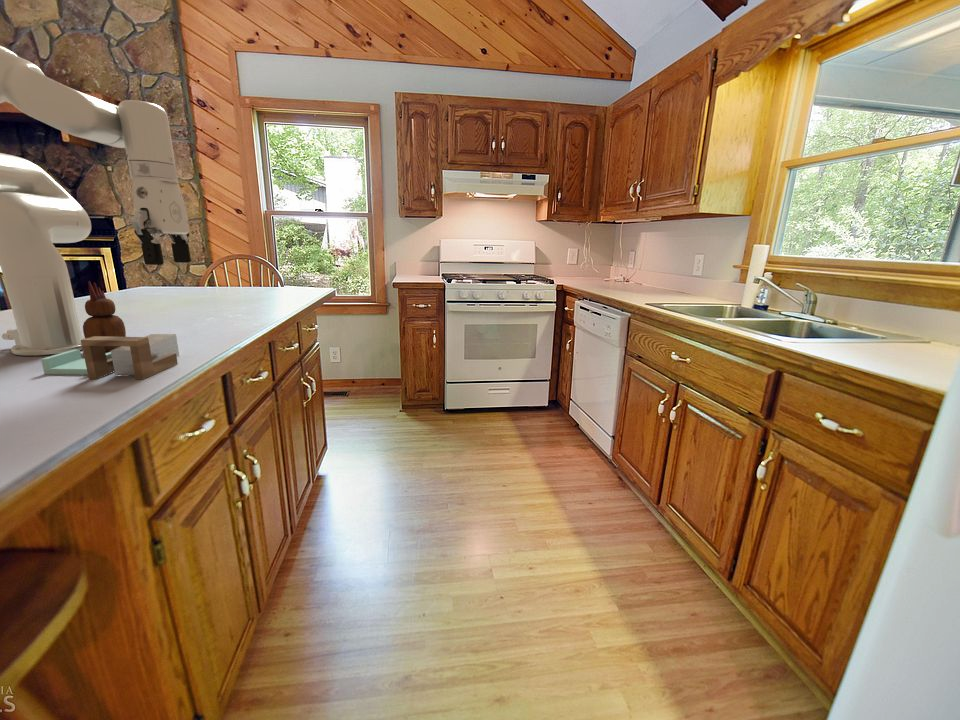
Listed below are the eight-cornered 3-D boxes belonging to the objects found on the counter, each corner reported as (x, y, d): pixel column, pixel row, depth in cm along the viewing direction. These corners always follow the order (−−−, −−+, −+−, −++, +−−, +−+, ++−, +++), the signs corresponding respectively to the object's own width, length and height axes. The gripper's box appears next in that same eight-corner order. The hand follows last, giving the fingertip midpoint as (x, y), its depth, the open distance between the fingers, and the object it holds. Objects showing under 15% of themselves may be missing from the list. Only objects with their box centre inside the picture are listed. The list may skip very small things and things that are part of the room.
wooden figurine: (103, 354, 89) (89, 282, 85) (81, 352, 90) (65, 281, 86) (135, 347, 96) (122, 280, 92) (113, 345, 97) (100, 278, 93)
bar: (115, 377, 77) (110, 350, 75) (154, 357, 90) (150, 334, 88) (145, 376, 78) (140, 350, 76) (179, 356, 91) (175, 333, 89)
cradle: (44, 373, 76) (40, 358, 75) (77, 363, 83) (74, 349, 82) (96, 374, 77) (92, 359, 76) (124, 363, 84) (121, 350, 83)
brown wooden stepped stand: (88, 378, 75) (80, 339, 73) (129, 363, 84) (123, 328, 82) (143, 379, 75) (136, 340, 73) (177, 363, 85) (172, 329, 83)
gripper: (146, 167, 75) (163, 266, 80) (197, 180, 92) (209, 261, 97) (100, 165, 75) (120, 265, 79) (160, 179, 91) (174, 261, 96)
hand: (169, 263), depth 88 cm, fingers open, 9 cm apart
